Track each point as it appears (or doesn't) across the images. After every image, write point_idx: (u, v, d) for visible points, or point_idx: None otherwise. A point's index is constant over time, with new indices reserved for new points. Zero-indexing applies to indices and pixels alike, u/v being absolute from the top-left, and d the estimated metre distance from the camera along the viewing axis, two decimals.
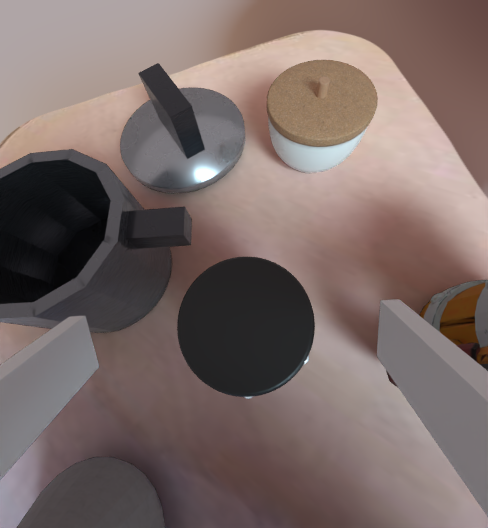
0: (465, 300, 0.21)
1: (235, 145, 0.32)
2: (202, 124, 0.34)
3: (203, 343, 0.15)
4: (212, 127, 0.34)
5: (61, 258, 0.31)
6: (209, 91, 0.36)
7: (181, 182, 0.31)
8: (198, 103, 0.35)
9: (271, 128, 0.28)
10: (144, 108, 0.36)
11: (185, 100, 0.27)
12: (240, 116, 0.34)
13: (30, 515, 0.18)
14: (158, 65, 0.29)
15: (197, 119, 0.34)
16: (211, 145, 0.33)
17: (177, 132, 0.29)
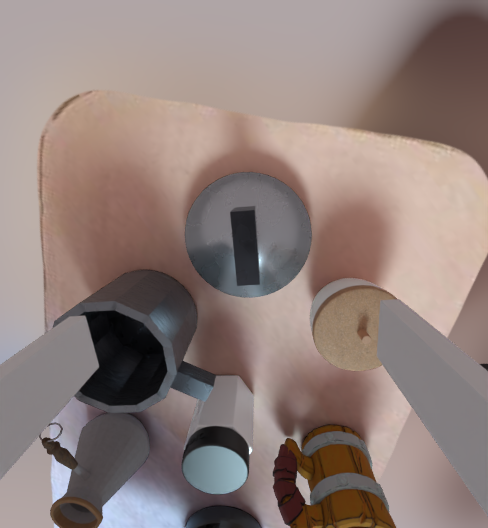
0: (332, 460, 0.39)
1: (285, 279, 0.35)
2: (271, 239, 0.34)
3: (192, 470, 0.32)
4: (277, 248, 0.34)
5: None
6: (298, 201, 0.32)
7: (226, 288, 0.36)
8: (280, 210, 0.33)
9: (312, 317, 0.32)
10: (225, 182, 0.32)
11: (257, 275, 0.29)
12: (308, 251, 0.34)
13: (93, 446, 0.39)
14: (253, 213, 0.27)
15: (269, 230, 0.33)
16: (266, 267, 0.35)
17: None
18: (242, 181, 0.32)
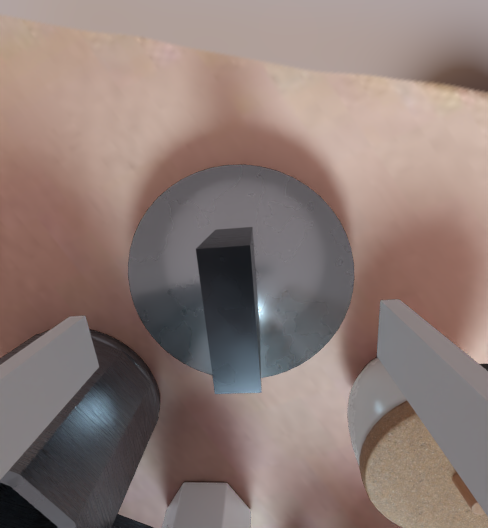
0: None
1: (305, 351, 0.20)
2: (281, 286, 0.19)
3: None
4: (292, 301, 0.19)
5: None
6: (332, 218, 0.17)
7: (203, 365, 0.21)
8: (297, 235, 0.18)
9: (358, 434, 0.17)
10: (197, 184, 0.17)
11: (256, 375, 0.14)
12: (346, 305, 0.19)
13: None
14: (247, 253, 0.12)
15: (277, 270, 0.19)
16: (272, 332, 0.20)
17: None
18: (229, 182, 0.17)
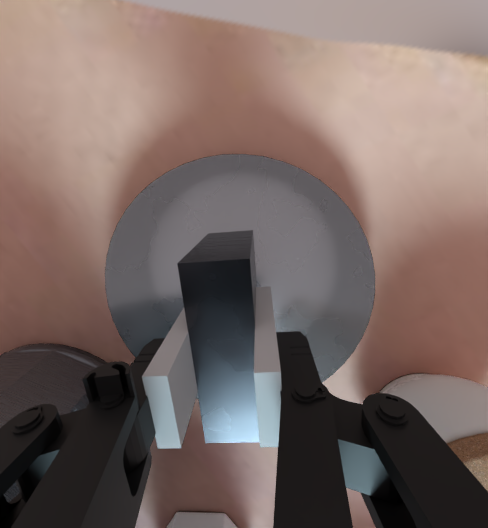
0: None
1: None
2: (286, 300, 0.16)
3: None
4: (300, 318, 0.16)
5: None
6: (349, 220, 0.14)
7: None
8: (307, 240, 0.15)
9: None
10: (185, 178, 0.14)
11: None
12: (365, 323, 0.16)
13: None
14: (245, 269, 0.09)
15: (283, 282, 0.16)
16: None
17: None
18: (224, 176, 0.14)
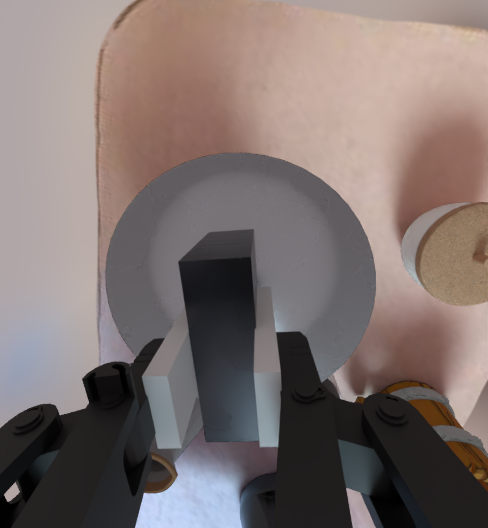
0: None
1: None
2: (287, 299, 0.16)
3: None
4: (300, 317, 0.16)
5: None
6: (350, 219, 0.14)
7: None
8: (308, 240, 0.15)
9: (414, 246, 0.28)
10: (186, 177, 0.14)
11: None
12: (365, 323, 0.16)
13: None
14: (247, 267, 0.09)
15: (283, 281, 0.15)
16: None
17: None
18: (225, 175, 0.14)
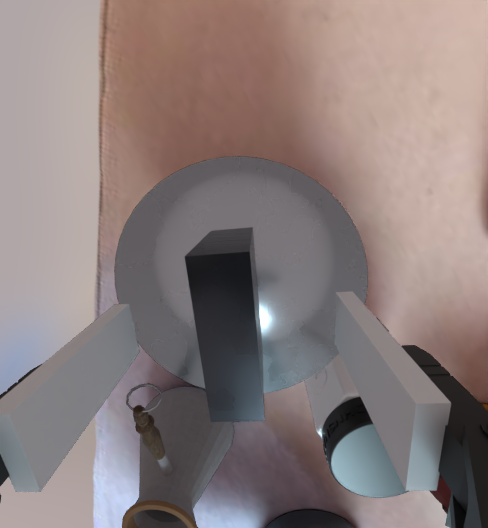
0: None
1: (312, 365, 0.18)
2: (285, 293, 0.17)
3: (347, 460, 0.21)
4: (297, 310, 0.17)
5: None
6: (343, 217, 0.15)
7: (199, 380, 0.19)
8: (304, 236, 0.16)
9: None
10: (189, 179, 0.15)
11: (258, 402, 0.12)
12: None
13: (169, 428, 0.28)
14: (246, 261, 0.10)
15: (281, 276, 0.17)
16: (276, 344, 0.18)
17: None
18: (225, 177, 0.15)
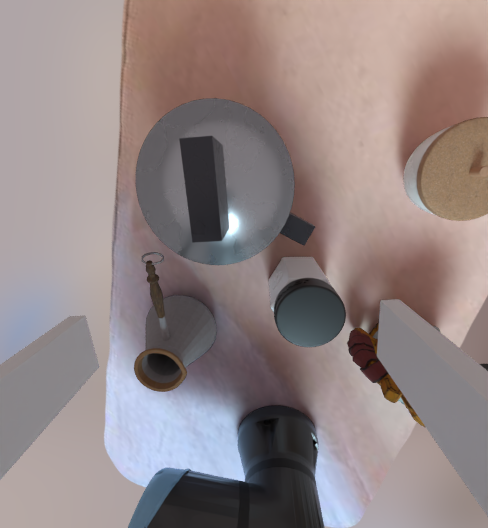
0: None
1: (262, 242, 0.28)
2: (243, 190, 0.27)
3: (287, 317, 0.31)
4: (251, 202, 0.27)
5: None
6: (277, 139, 0.25)
7: (189, 253, 0.29)
8: (254, 152, 0.26)
9: (416, 164, 0.31)
10: (184, 113, 0.25)
11: (218, 228, 0.22)
12: (290, 206, 0.27)
13: (168, 316, 0.38)
14: (210, 141, 0.20)
15: (241, 178, 0.26)
16: (238, 227, 0.28)
17: None
18: (206, 111, 0.25)
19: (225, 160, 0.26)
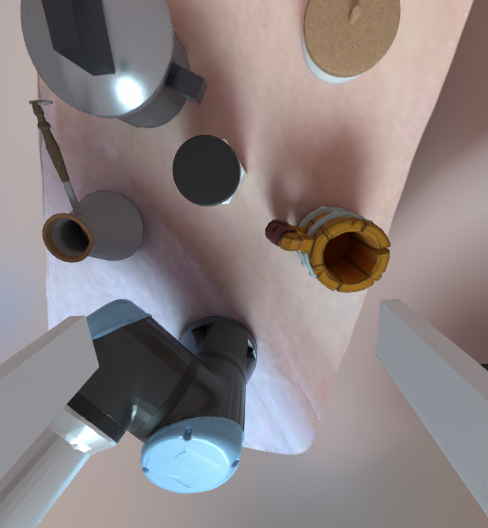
0: (324, 215, 0.39)
1: (148, 87, 0.29)
2: (123, 30, 0.28)
3: (183, 172, 0.32)
4: (132, 43, 0.28)
5: None
6: None
7: (81, 104, 0.30)
8: None
9: None
10: None
11: (75, 31, 0.23)
12: (169, 45, 0.28)
13: (86, 202, 0.39)
14: None
15: (119, 17, 0.28)
16: (123, 71, 0.29)
17: (70, 59, 0.25)
18: None
19: None
